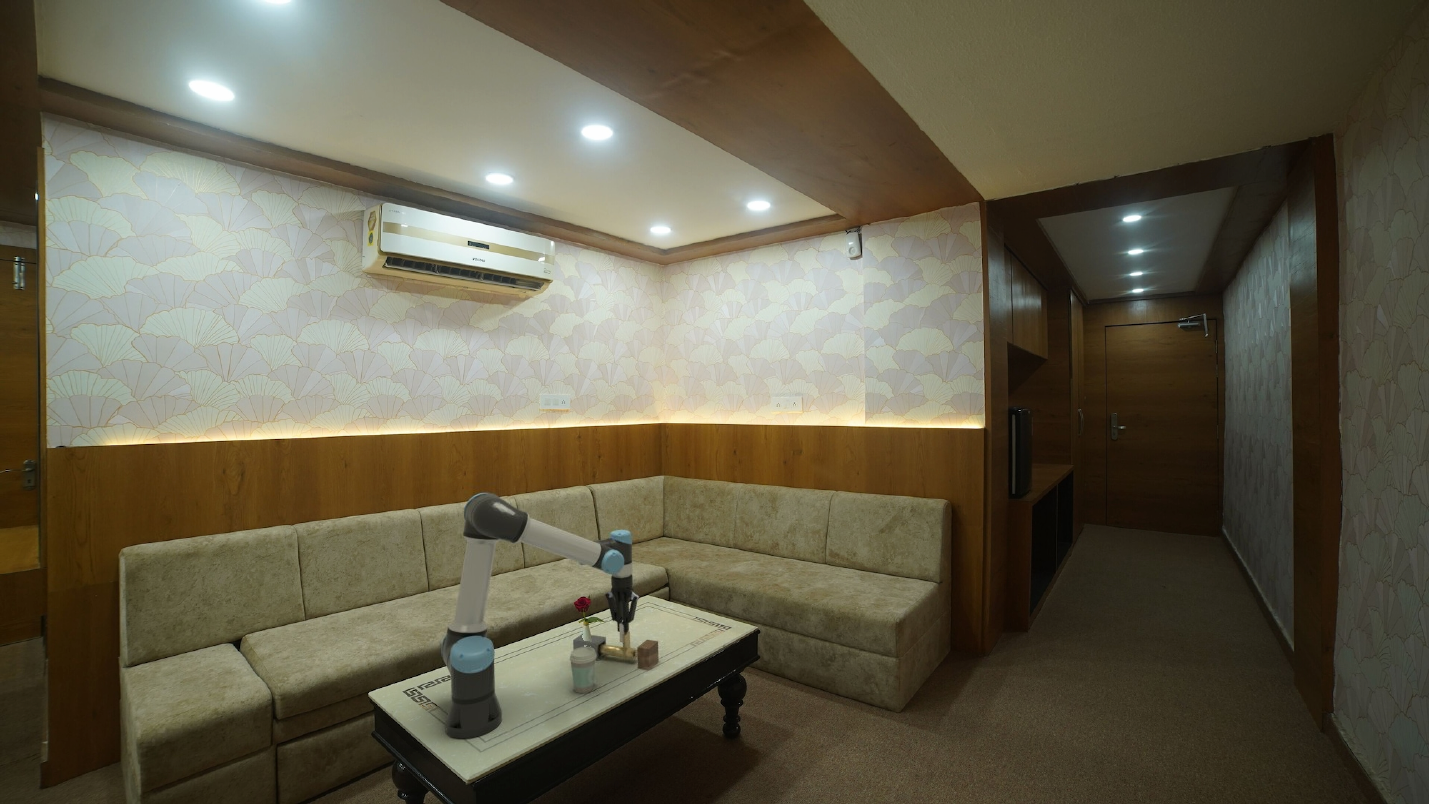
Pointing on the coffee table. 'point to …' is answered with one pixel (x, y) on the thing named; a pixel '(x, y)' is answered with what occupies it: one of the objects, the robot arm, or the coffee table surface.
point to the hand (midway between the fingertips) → (623, 640)
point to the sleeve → (590, 643)
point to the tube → (619, 649)
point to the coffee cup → (583, 668)
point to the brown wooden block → (647, 654)
